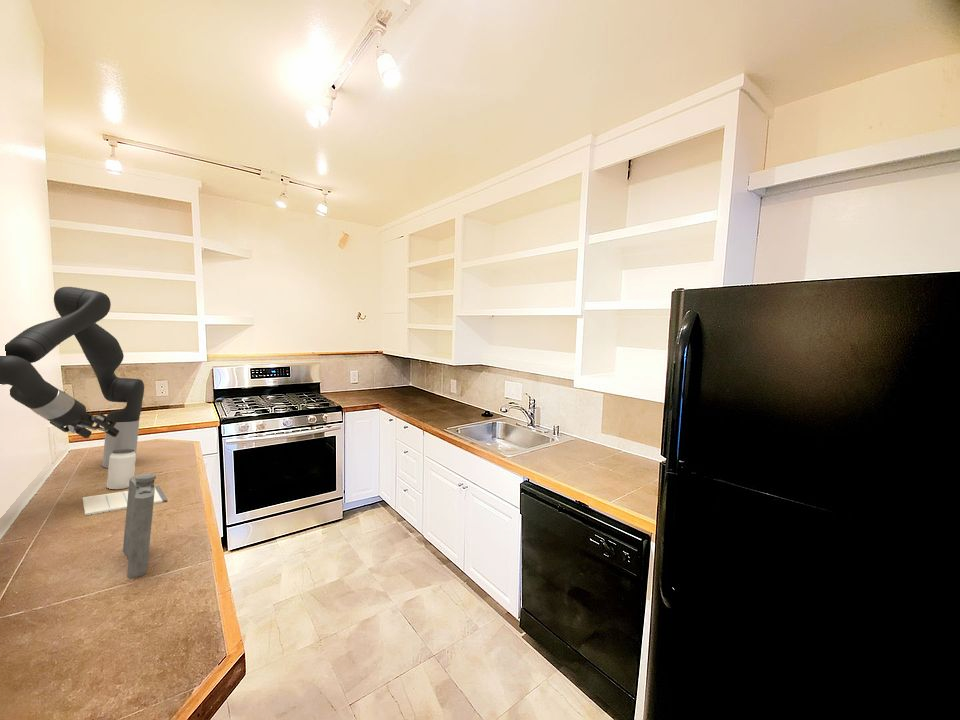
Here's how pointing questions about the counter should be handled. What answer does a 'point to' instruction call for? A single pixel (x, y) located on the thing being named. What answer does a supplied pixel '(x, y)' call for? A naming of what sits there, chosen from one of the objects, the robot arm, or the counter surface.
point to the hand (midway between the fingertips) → (102, 434)
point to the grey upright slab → (138, 523)
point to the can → (121, 468)
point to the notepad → (114, 501)
